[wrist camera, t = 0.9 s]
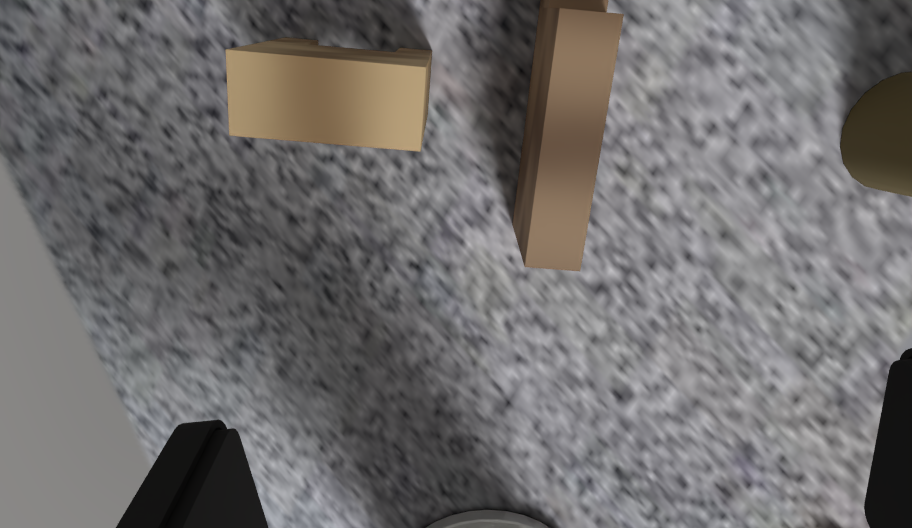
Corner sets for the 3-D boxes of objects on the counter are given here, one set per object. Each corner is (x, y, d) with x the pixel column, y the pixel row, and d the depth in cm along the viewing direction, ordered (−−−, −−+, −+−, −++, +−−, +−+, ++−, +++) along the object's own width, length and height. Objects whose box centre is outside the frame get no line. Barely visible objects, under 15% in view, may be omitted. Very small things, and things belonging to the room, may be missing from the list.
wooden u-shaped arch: (432, 50, 31) (425, 67, 23) (427, 113, 32) (420, 151, 24) (285, 37, 31) (225, 49, 23) (286, 101, 32) (229, 135, 24)
